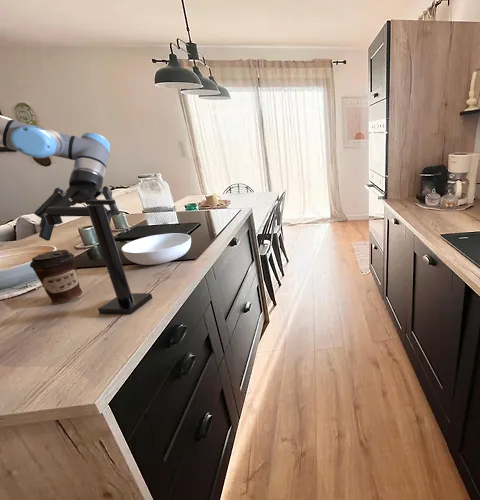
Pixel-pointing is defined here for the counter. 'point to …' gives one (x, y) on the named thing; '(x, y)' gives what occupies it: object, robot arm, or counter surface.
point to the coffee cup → (57, 275)
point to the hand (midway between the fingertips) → (72, 236)
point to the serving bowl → (157, 248)
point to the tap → (104, 254)
